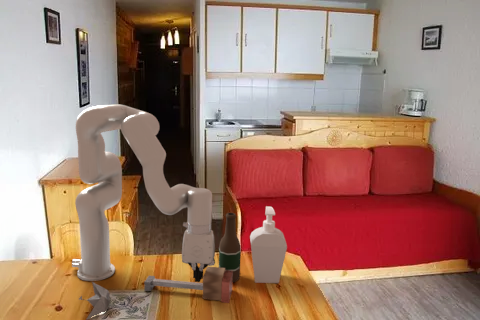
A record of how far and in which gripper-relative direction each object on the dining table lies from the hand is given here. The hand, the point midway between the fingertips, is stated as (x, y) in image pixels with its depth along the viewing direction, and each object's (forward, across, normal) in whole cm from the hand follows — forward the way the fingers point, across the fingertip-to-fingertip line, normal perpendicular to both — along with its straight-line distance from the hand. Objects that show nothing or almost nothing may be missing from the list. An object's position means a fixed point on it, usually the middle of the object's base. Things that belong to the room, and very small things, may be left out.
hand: (198, 280), depth 130 cm
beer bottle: (+5, +9, +12) cm, 16 cm away
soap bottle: (+5, +22, +15) cm, 27 cm away
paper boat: (+5, -28, -14) cm, 32 cm away
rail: (+5, -3, 0) cm, 6 cm away
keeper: (+5, +5, 0) cm, 7 cm away
